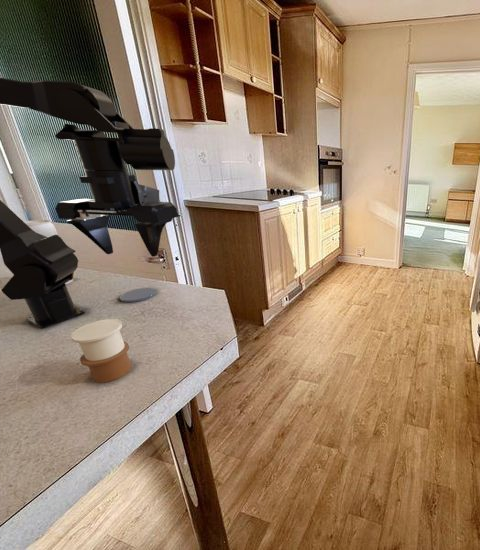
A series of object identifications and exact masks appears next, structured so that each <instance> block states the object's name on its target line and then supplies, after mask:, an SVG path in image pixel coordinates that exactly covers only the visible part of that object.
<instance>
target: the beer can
mask: <svg viewBox="0 0 480 550" xmlns="http://www.w3.org/2000/svg"><path fill="white" fill-rule="evenodd" d="M23 222H24V223H25V224H27V225H28V226H29V227H30V228H31V229H32V230H33V231H35V232H36V233H39V234H41V235H43V236H46V237H49V236H52V235H55V234H56V235H58V236H59V233H58V231H57V229H56V225H54V223H52V222H51V221H50V220H48V219H36V220H26V221H23ZM74 278H75V274H74V275H73V279H72V280H69V281H68V282H66V283H65V285H67V284H70V283H72V282H73V281H74Z"/></svg>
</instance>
